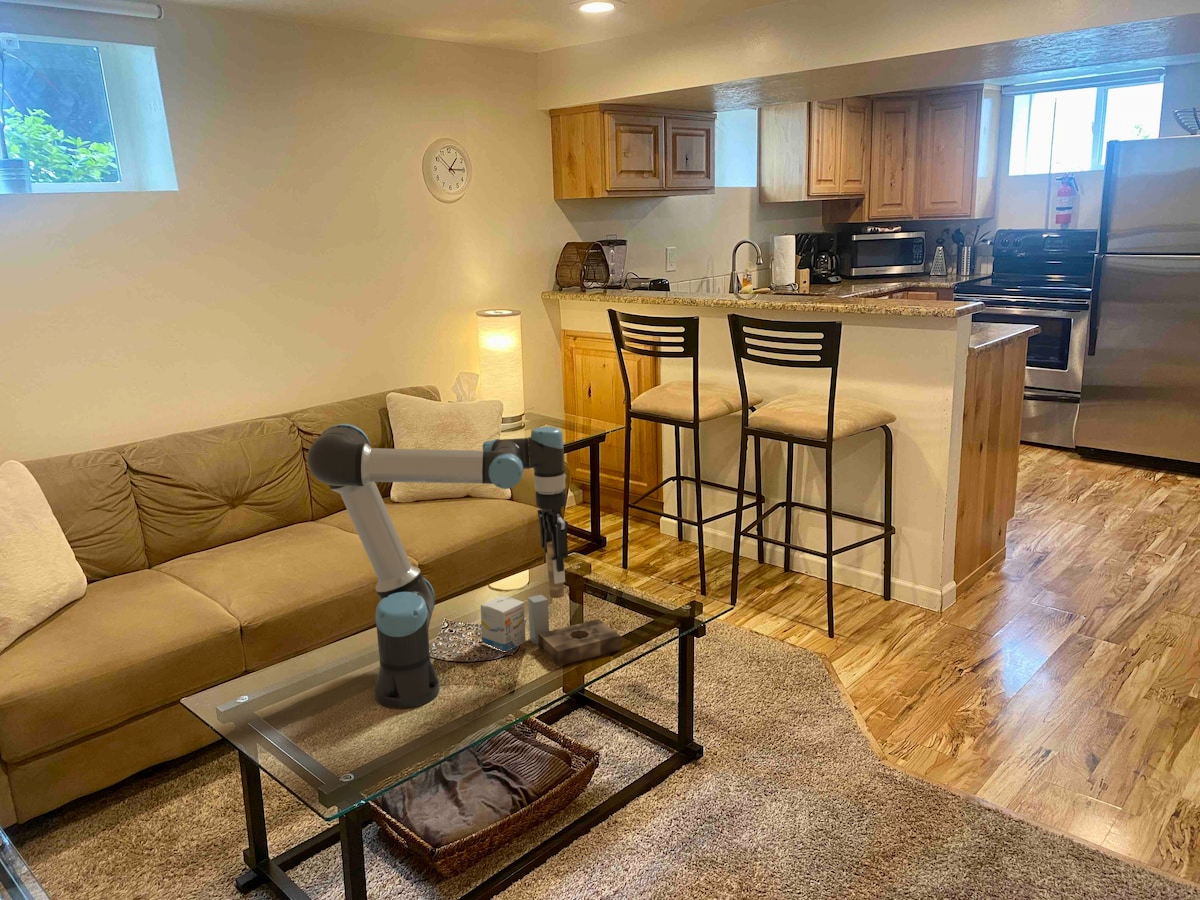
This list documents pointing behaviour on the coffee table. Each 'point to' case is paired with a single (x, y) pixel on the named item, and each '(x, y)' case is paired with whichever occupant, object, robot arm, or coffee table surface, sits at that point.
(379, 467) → the robot arm
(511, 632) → the ink box
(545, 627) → the square peg
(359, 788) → the coffee table surface
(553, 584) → the oak dowel
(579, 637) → the socket block
